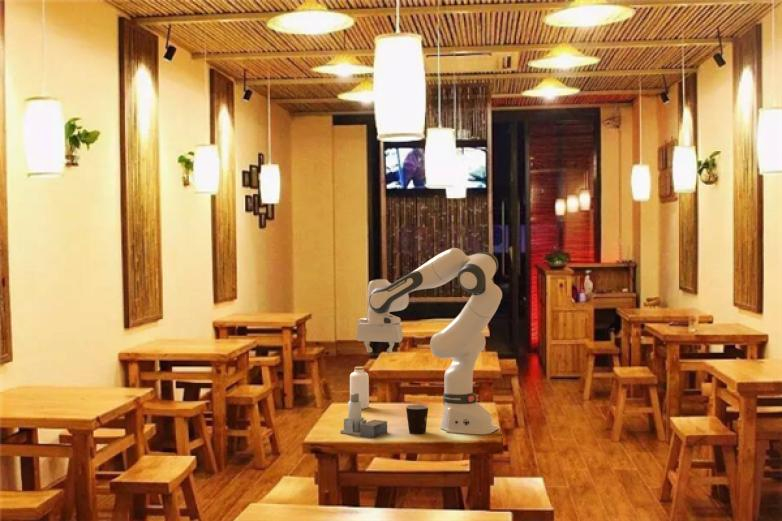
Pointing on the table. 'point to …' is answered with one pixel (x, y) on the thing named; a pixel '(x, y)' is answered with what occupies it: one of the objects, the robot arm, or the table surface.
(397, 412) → the table surface
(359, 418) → the white lotion bottle
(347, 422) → the bottle holder
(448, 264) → the robot arm
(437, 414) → the table surface
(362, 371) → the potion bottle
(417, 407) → the coffee mug
